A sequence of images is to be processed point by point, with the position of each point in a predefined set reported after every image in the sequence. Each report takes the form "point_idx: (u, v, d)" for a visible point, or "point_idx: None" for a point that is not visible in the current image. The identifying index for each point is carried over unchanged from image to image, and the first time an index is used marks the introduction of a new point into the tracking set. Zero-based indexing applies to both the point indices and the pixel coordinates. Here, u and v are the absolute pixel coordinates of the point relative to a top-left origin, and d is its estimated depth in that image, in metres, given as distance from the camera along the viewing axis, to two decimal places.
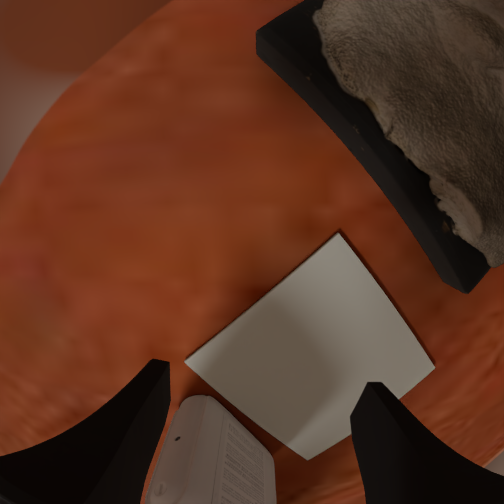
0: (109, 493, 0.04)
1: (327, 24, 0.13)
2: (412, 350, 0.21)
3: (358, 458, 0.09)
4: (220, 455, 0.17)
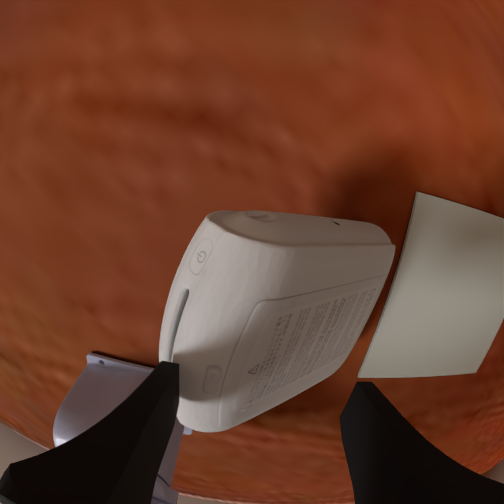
0: (124, 498, 0.04)
1: None
2: (486, 344, 0.22)
3: (348, 458, 0.09)
4: (343, 288, 0.13)
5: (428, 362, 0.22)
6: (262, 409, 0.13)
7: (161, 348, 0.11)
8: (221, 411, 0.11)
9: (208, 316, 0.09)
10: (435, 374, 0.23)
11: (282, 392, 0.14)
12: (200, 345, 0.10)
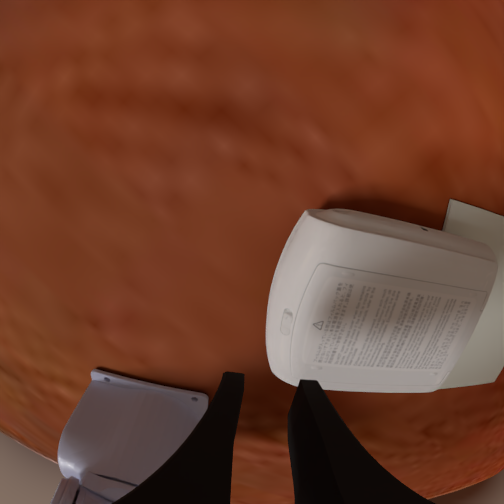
0: None
1: None
2: None
3: (291, 459, 0.09)
4: (416, 283, 0.13)
5: (451, 374, 0.20)
6: (337, 382, 0.15)
7: (269, 298, 0.16)
8: (292, 357, 0.15)
9: (288, 269, 0.14)
10: (456, 385, 0.21)
11: (358, 374, 0.15)
12: (281, 290, 0.14)
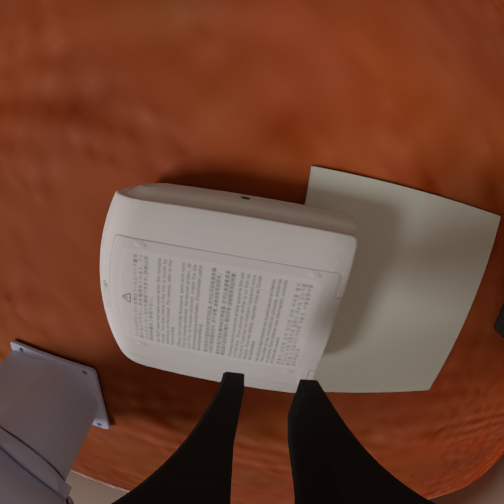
0: None
1: None
2: (440, 357, 0.20)
3: (291, 459, 0.09)
4: (222, 257, 0.13)
5: (358, 377, 0.20)
6: (169, 363, 0.15)
7: None
8: (118, 330, 0.15)
9: (102, 242, 0.14)
10: (370, 390, 0.21)
11: (187, 356, 0.15)
12: (100, 262, 0.14)
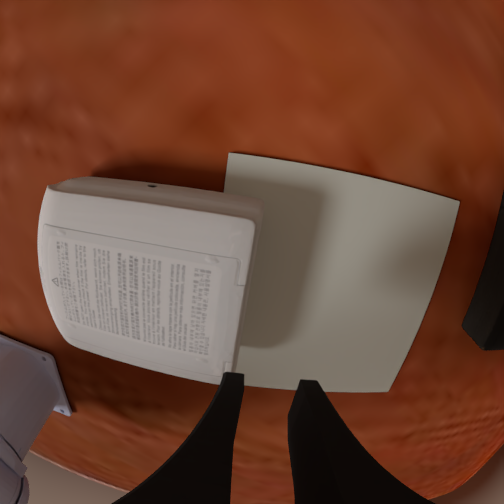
0: None
1: None
2: (396, 357, 0.19)
3: (291, 459, 0.09)
4: (124, 243, 0.13)
5: (301, 374, 0.20)
6: (97, 346, 0.15)
7: None
8: (53, 313, 0.15)
9: None
10: None
11: (110, 340, 0.15)
12: None
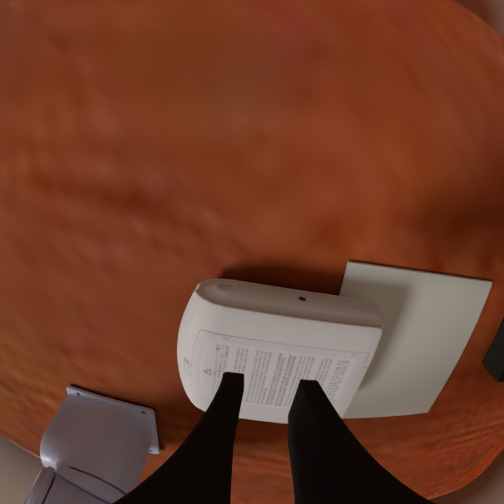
0: None
1: None
2: (436, 388, 0.24)
3: (291, 459, 0.09)
4: (287, 347, 0.17)
5: (371, 406, 0.24)
6: None
7: None
8: (195, 392, 0.19)
9: (183, 330, 0.18)
10: (380, 415, 0.25)
11: (251, 408, 0.19)
12: (181, 344, 0.18)
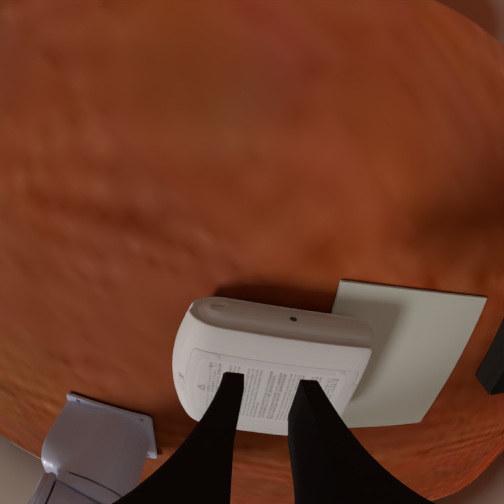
0: None
1: None
2: (429, 400, 0.24)
3: (291, 459, 0.09)
4: (277, 365, 0.17)
5: (364, 417, 0.24)
6: None
7: None
8: (190, 404, 0.19)
9: (177, 347, 0.18)
10: (372, 425, 0.25)
11: (244, 420, 0.19)
12: (175, 360, 0.19)
